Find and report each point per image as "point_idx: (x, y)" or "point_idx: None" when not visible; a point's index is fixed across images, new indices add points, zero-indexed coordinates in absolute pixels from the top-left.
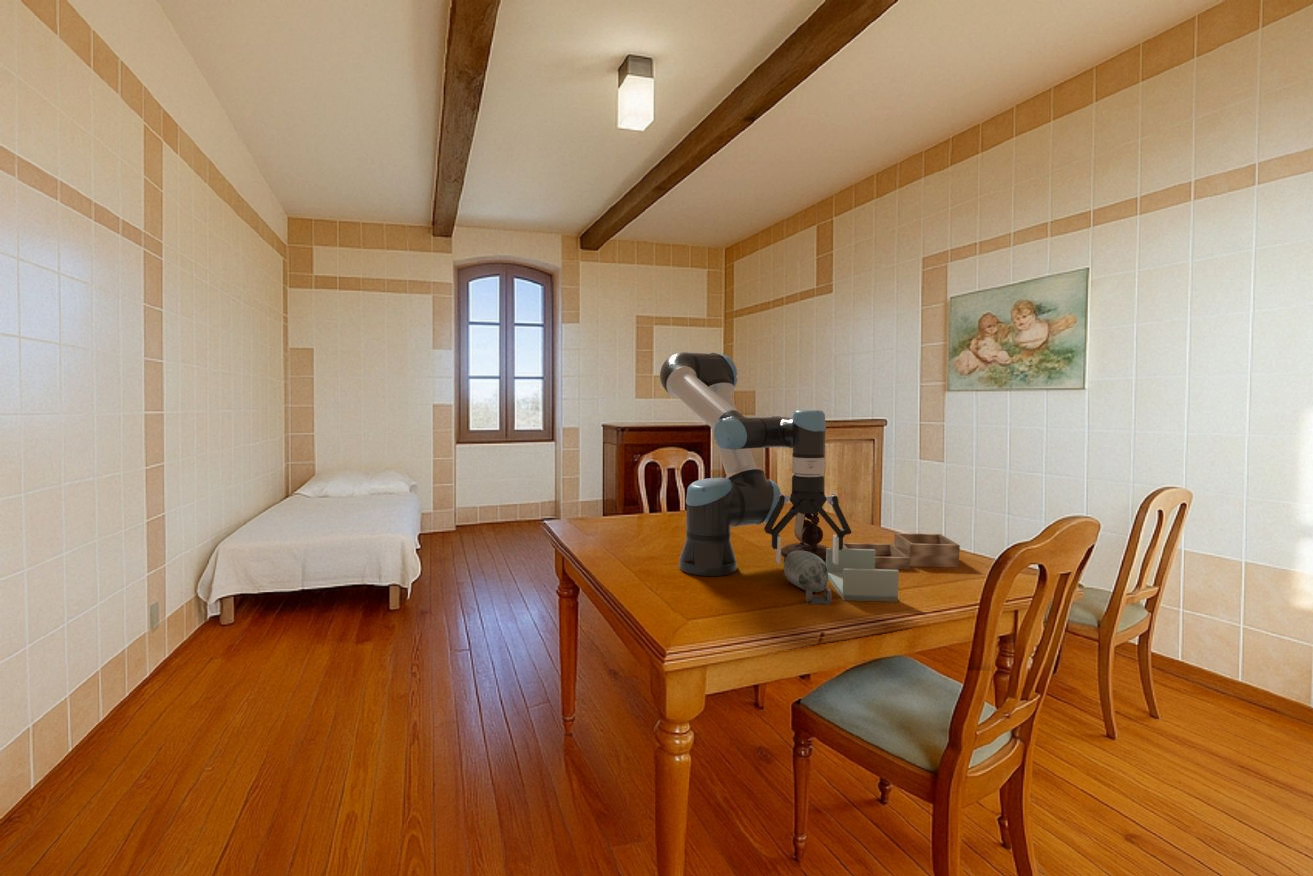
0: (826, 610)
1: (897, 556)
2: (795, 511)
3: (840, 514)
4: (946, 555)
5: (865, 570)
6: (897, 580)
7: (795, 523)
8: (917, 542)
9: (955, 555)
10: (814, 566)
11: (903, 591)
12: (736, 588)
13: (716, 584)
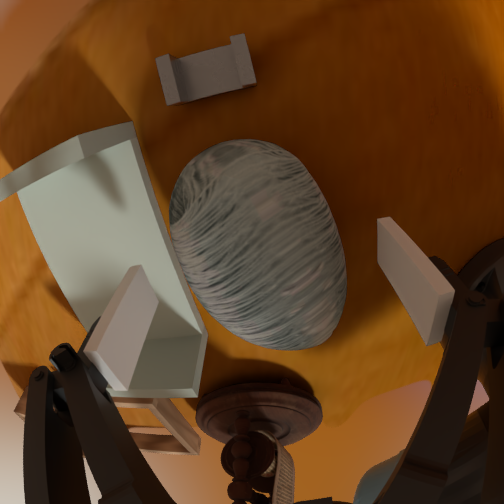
0: (184, 8)
1: None
2: (414, 499)
3: (33, 465)
4: None
5: (19, 167)
6: None
7: (293, 481)
8: None
9: (22, 400)
10: (218, 165)
11: (28, 256)
12: (462, 155)
13: (497, 182)
